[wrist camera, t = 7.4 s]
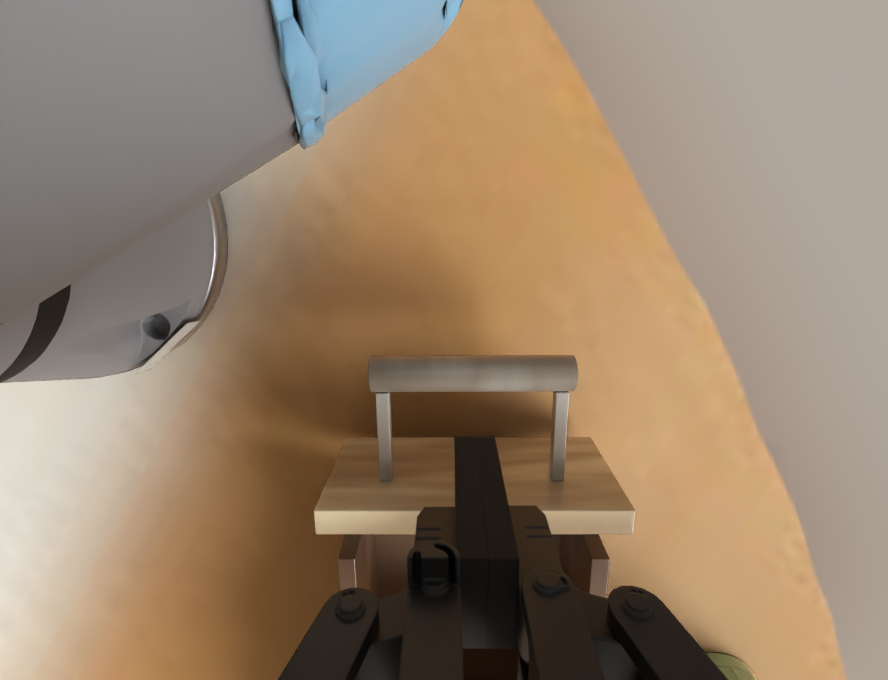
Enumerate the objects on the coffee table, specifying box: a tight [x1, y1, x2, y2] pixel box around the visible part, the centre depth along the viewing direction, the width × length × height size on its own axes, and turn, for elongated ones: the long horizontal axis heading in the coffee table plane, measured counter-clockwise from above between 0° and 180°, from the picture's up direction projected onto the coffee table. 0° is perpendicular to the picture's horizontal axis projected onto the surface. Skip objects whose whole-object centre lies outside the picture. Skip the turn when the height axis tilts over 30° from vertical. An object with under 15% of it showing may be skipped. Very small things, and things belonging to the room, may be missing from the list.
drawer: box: [314, 355, 635, 680], centre depth 26 cm, size 23×14×7 cm, turn 0°
